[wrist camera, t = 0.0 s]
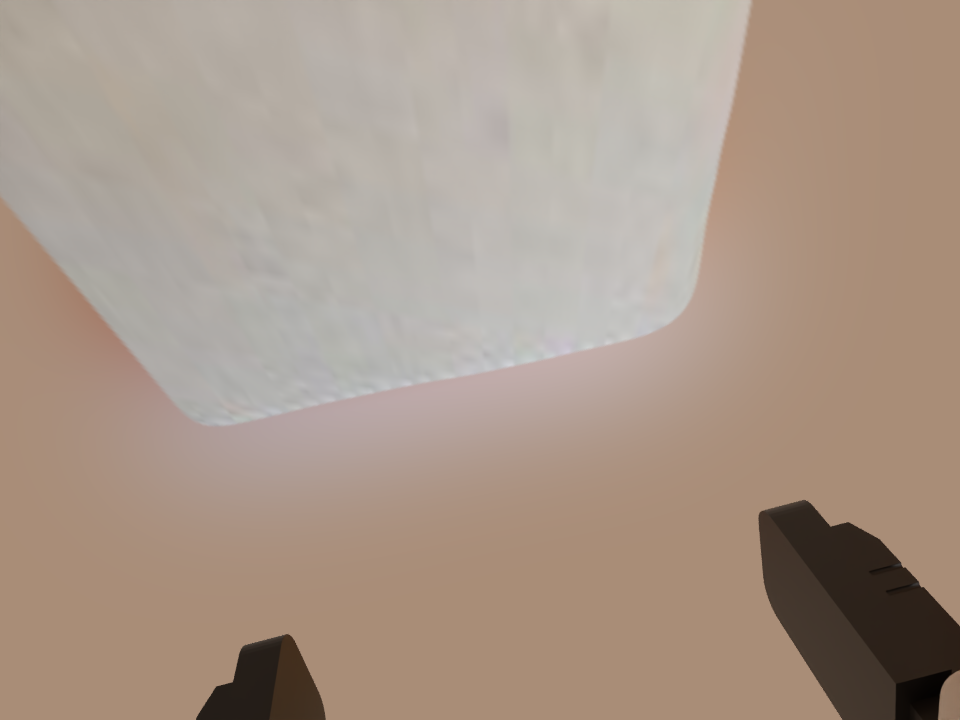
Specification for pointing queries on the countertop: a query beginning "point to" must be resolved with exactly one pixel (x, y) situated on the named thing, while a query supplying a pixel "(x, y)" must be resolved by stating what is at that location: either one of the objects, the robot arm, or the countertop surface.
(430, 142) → the countertop surface
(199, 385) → the countertop surface
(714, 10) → the countertop surface
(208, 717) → the robot arm
